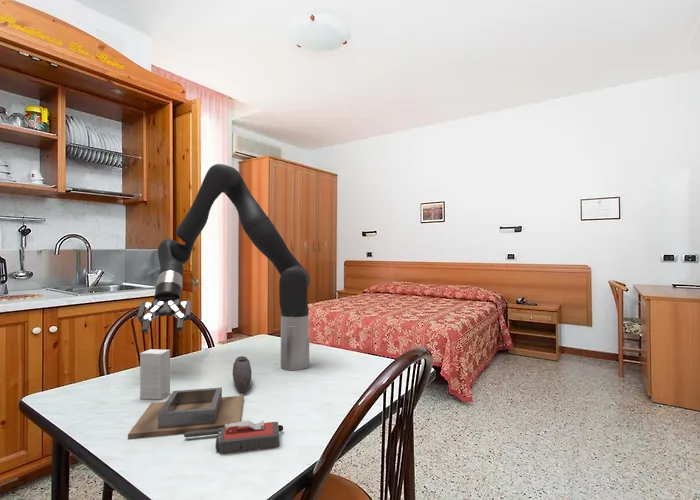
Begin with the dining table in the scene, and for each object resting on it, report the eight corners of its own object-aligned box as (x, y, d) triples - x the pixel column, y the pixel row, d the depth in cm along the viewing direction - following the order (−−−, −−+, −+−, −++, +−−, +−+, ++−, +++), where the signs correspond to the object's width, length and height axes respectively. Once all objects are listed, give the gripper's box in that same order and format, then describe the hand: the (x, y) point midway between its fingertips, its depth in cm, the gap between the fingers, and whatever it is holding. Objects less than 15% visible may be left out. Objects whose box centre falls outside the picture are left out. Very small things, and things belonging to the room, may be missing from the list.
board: (243, 399, 97) (243, 395, 97) (239, 428, 81) (239, 423, 81) (151, 406, 92) (151, 402, 92) (127, 438, 76) (128, 434, 76)
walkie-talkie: (282, 428, 82) (185, 438, 77) (282, 408, 82) (185, 417, 77) (285, 449, 73) (175, 462, 69) (285, 426, 73) (176, 438, 69)
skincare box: (170, 393, 100) (171, 349, 100) (161, 400, 96) (161, 353, 96) (149, 392, 101) (149, 348, 101) (139, 399, 97) (139, 353, 97)
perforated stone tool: (252, 395, 100) (252, 369, 100) (232, 397, 98) (232, 371, 98) (250, 377, 114) (250, 354, 114) (232, 378, 113) (232, 355, 113)
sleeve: (221, 399, 94) (221, 387, 94) (214, 423, 81) (214, 409, 81) (173, 403, 92) (173, 390, 92) (157, 428, 79) (158, 414, 79)
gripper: (142, 281, 114) (132, 325, 103) (192, 280, 119) (188, 322, 108) (146, 296, 119) (137, 340, 109) (193, 294, 124) (189, 337, 113)
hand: (162, 331), depth 108 cm, fingers open, 8 cm apart
